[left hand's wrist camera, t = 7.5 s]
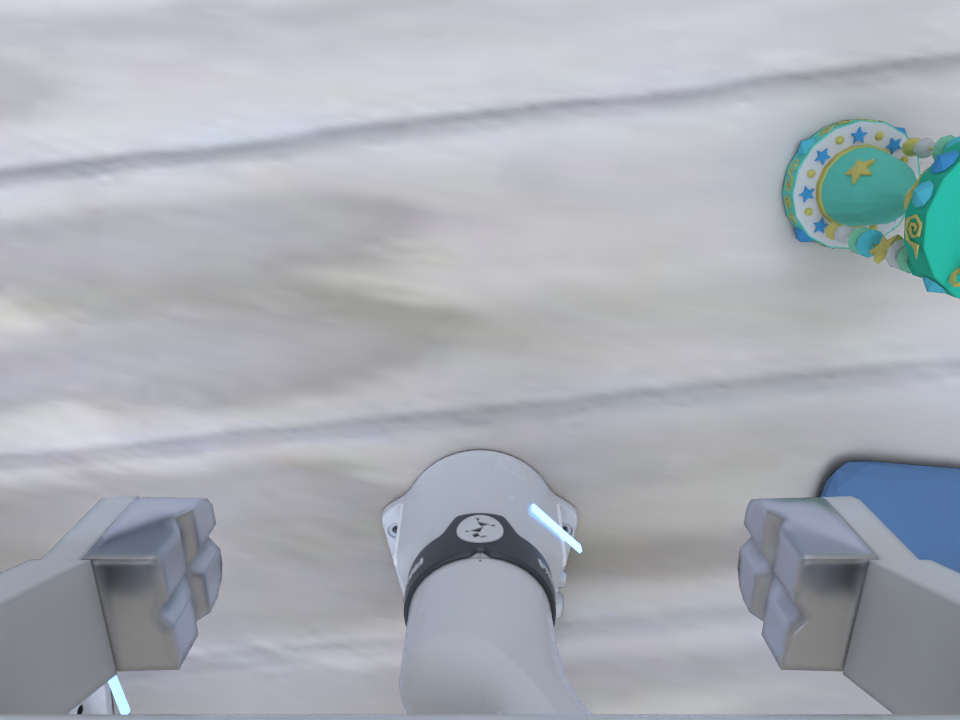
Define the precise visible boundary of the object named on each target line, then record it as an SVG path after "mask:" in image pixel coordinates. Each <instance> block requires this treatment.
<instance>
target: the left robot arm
mask: <svg viewBox="0 0 960 720" xmlns="http://www.w3.org/2000/svg"><path fill="white" fill-rule="evenodd" d="M382 524H383V528H384V531H385V535H386V538H387V542H388V545H389V548H390V552H391V555H392V559H393V562H394V566H395V569H396V573H397V576H398V580H399V583H400V587H401V590H402V594H403V597H404V602H405V603H404V618H405V624H406V627H407V628H406V635H405V642H404V649H403V656H402V664H401V671H400V678H399V686H400V694H401V699H402V702H403V706H404V708H405V711H406V713H407V714H67V713H69V712H70V711H71V710H72V709H74V708H75V707H76V706H78V705H79V704H80V703H81V702H83V701H84V700H85V699H86V698H88V697H89V696H90V695H91V694H93V693H94V692H95V691H97V690H98V689H99V688H100V687H102V686H103V685H104V684H105V683H107V682H108V681H109V680H110V679H112V678H113V677H114V676H116V675H117V672H116V671H144V670H179V669H180V667H181V665H182V663H183V661H184V660H185V658H186V656H187V654H188V652H189V650H190V649H191V647H192V645H193V643H194V641H195V639H196V638H197V636H198V630H197V624H196V621H198V620H199V619H201V618H202V617H204V616H205V615H207V614H208V613H210V612H211V610H212V608H213V606H214V604H215V602H216V600H217V597H218V593H219V589H220V584H221V580H222V559H221V552H220V548H219V547H218V546H217V545H216V544H215V543H214V542H213V541H212V540H211V539H210V538H209V537H208V536H209V534H210V533H211V531H212V529H213V528H214V526H215V525H216V520H215V515H214V510H213V505H212V504H211V502H210V501H209V500H208V499H207V498H170V497H141V498H140V497H138V496H135V497H107V498H102V499H100V501H99V502H98V503H97V504H96V505H95V506H94V507H93V508H92V509H91V510H90V511H89V512H88V513H87V514H86V515H85V516H84V517H83V518H82V519H81V520H80V521H79V522H78V523H77V524H76V525H75V526H74V527H73V528H72V529H71V530H70V531H69V532H68V533H67V534H66V535H65V536H64V537H63V538H62V539H61V540H60V541H59V542H58V543H57V544H56V545H55V546H54V547H53V548H52V549H51V550H50V551H49V552H48V553H47V554H46V555H45V556H44V557H43V558H42V559H41V560H28V561H26V562H24V563H22V564H19V565H17V566H15V567H13V568H10V569H8V570H6V571H4V572H2V573H0V720H960V573H958V572H956V571H954V570H952V569H949V568H947V567H945V566H943V565H941V564H938V563H936V562H934V561H932V560H919V559H918V558H917V557H916V556H915V555H914V554H913V553H912V552H911V551H910V550H909V549H908V548H907V547H906V546H905V545H904V544H903V543H902V542H901V541H900V540H899V539H898V538H897V537H896V536H895V535H894V534H893V533H892V532H891V531H890V530H889V529H888V528H887V527H886V526H885V525H884V524H883V523H882V522H881V521H880V520H879V519H878V518H877V517H876V516H875V514H874V513H873V512H872V511H871V510H870V509H869V508H868V507H867V506H866V505H865V504H864V503H863V502H862V501H861V500H860V499H857V498H854V497H852V496H843V497H818V498H778V499H751V500H750V502H749V504H748V506H747V509H746V514H745V520H744V525H745V526H746V528H747V529H748V531H749V533H750V534H751V536H752V537H751V538H750V539H749V540H748V541H747V542H746V543H745V544H744V545H743V546H742V547H741V548H740V552H739V561H738V577H739V587H740V590H741V593H742V597H743V600H744V602H745V604H746V606H747V608H748V610H749V612H750V613H752V614H753V615H755V616H756V617H758V618H759V619H761V620H762V621H764V624H763V630H762V636H763V638H764V639H765V641H766V643H767V645H768V647H769V649H770V650H771V652H772V654H773V656H774V658H775V660H776V661H777V663H778V665H779V667H780V669H781V670H815V671H844V672H843V675H845V676H846V677H847V678H849V679H850V680H851V681H852V682H854V683H855V684H856V685H857V686H859V687H860V688H861V689H862V690H864V691H865V692H866V693H868V694H869V695H870V696H871V697H873V698H874V699H875V700H876V701H878V702H879V703H880V704H881V705H883V706H884V707H885V708H886V709H888V710H889V711H890V712H892V713H893V714H592V713H591V712H590V711H589V710H588V709H587V708H586V706H585V705H584V704H583V703H582V701H581V700H580V699H579V698H578V696H577V695H576V693H575V692H574V690H573V689H572V687H571V686H570V684H569V682H568V680H567V678H566V676H565V673H564V670H563V666H562V663H561V659H560V655H559V651H558V647H557V643H556V638H555V632H554V624H555V619H556V618H561V616H562V612H563V603H564V600H563V594H561V593H559V592H558V590H559V587H565V585H566V572H564V569H565V566H566V562H567V559H568V555H569V552H570V549H571V546H572V547H573V548H574V549H575V550H576V551H578V552H579V553H580V552H582V549H581V545H580V544H579V543H578V542H577V541H576V540H574V539H573V538H574V535H575V531H576V528H577V524H578V512H577V510H576V508H575V507H574V506H572V505H571V504H570V503H568V502H567V501H565V500H563V499H562V498H560V497H558V496H556V495H555V494H554V493H553V492H552V491H551V490H550V489H549V487H548V486H547V484H546V483H545V482H544V480H543V479H542V478H541V476H540V475H539V474H538V473H537V472H536V471H535V470H534V469H532V468H531V467H530V466H529V465H527V464H526V463H524V462H523V461H521V460H519V459H517V458H515V457H513V456H510V455H507V454H504V453H500V452H495V451H487V450H473V451H465V452H460V453H456V454H453V455H450V456H448V457H445V458H443V459H441V460H439V461H437V462H436V463H434V464H433V465H431V466H430V467H429V468H428V469H426V470H425V471H424V472H423V473H422V474H421V475H420V476H419V478H418V479H417V480H416V482H415V483H414V484H413V486H412V487H411V489H410V490H409V491H408V492H407V493H406V494H405V495H404V496H402V497H400V498H398V499H397V500H395V501H393V502H392V503H390V504H389V505H388V506H386V507H385V509H384V510H383V512H382ZM395 526H397V529H395V528H394V527H395ZM563 526H566V528H565V529H563Z"/></svg>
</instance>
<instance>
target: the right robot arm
mask: <svg viewBox="0 0 960 720" xmlns="http://www.w3.org/2000/svg"><path fill="white" fill-rule="evenodd" d="M111 690H112V693H113V695H114V698H115V700H116V703H117V705H118V707H119V710H120V712H121V714H128V713H129V712H130V708H129V706H128V703H127V701H126V698H125V696H124V693H123V691H122V688H121V686H120V683H119V681H118V678H117V676H114V677H113V678H112V679H110V680H109V681H108V682H107V683H105V684H104V685H103V686H102V687H100V688H99V689H98V690H97V691H95V692H94V693H93V694H91V695H90V696H89V697H88V698H86V699H85V700H84V701H83V702H81V703H80V704H79V705H78V706H76V707H75V708H74V709H72V710H71V711H70V712H69V713H67V714H113V709H112V698H111Z"/></svg>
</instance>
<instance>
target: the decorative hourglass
mask: <svg viewBox="0 0 960 720" xmlns="http://www.w3.org/2000/svg"><path fill="white" fill-rule="evenodd" d="M930 155H932V156H933V158H934V160H935V161H934V163H933V164H932V165H931V166H930V167H929V168H928V169H927V170H926V171H925V172H924V173H923V174H921V176H920V167H919V158H925V157H929V156H930ZM782 195H783V200H784V206H785V211H786V216H787V217H788V218H789V220H790V221H791V223H792V224H793V225H794V227H795V228H796V229H795V233H796V238H797V239H798V240H799V241H800V242H810V241H811V242H813V243H816V244H819V245H822V246H824V247H830V248H833V249H835V248H839V249H850V250H851V251H852V252H855V253H858V254H860V255H863V256H865V257H871V256H874V255H875V257H874V261H875V262H877V263H878V264H879V263H880V262H881V261H882V260H883V259H884V258H885V257H886V259H887V261H888V263H889V265H890V266H891V267H894V268H897V269H899V268H900V270H902V271H905V272H907V273H912V275H915V276H918V277H922V278H923V281H924V284H925V287H926V290H927V292H938V293H946V294H948V295H951V296H953V297H956V298H959V299H960V137H957V138H956V137H954V136H951V135H949V136H946V137H942V138H941V139H940V140H939V141H938V142H937V143H936V144H935V143H934V142H933V141H932V140H931V139H921V140H920V139H919V138H912V139H909V138H908V137H907V135H906V131H905V129H904V128H896V127H893V126H891V125H890V124H888V123H886V122H882V121H875V120H867V119H857V120H845V121H841V122H838V123H836V124H833V125H831V126H828V127H825V128H822V129H821V130H820V131H818V132H817V133H816V134H815V135H813V136H812V137H811V138H810V139H807V140H804V141H801V143H800V146H799V149H798V151H797V153H796V155H795V156H794V158H793V159H792V161H791V163H790V164H789V166H788V167H787V172H786V176H785V181H784V186H783V190H782ZM905 215H906V216H905ZM904 216H905V231H904V239H903V238H902V237H901V236H900V235H899V234H898V235H896V236H894V237H892V238H890V239H888V240H887V239H886V238H885V237H884V236H885V235H886V234H887V233H889V232H890V231H892V230H894V229H895V228H896V227H897V226H898V225H899V223H900V222H901V221H902V219H903V218H904ZM812 240H813V241H812Z"/></svg>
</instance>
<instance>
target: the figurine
mask: <svg viewBox="0 0 960 720" xmlns="http://www.w3.org/2000/svg"><path fill="white" fill-rule="evenodd" d="M843 496H852V497H854V498H857V499H860V500H861V501H862V502H863V503H864V504H865V505H866V506H867V507H868V508H869V509H870V510H871V511H872V512H873V513H874V514H875V516H876V517H877V518H878V519H879V520H880V521H881V522H882V523H883V524H884V525H885V526H886V527H887V528H888V529H889V530H890V531H891V532H892V533H893V534H894V535H895V536H896V537H897V538H898V539H899V540H900V541H901V542H902V543H903V544H904V545H905V546H906V547H907V548H908V549H909V550H910V551H911V552H912V553H913V554H914V555H915V556H916V557H917V558H918V559H919V560H932V561H934V562H936V563H938V564H941V565H943V566H945V567H947V568H949V569H952V570H954V571H956V572H958V573H960V469H957V468H945V467H933V466H921V465H909V464H897V463H885V462H872V461H865V462H847V463H846V464H844V465H843V466H842V467H840V468H839V469H838V470H836V472H835V473H834V474H833V475H832V476H831V477H830V478H829V479H828V480H827V481H826V484H825V486H824V489H823V492H822V494H821V497H843Z"/></svg>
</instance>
